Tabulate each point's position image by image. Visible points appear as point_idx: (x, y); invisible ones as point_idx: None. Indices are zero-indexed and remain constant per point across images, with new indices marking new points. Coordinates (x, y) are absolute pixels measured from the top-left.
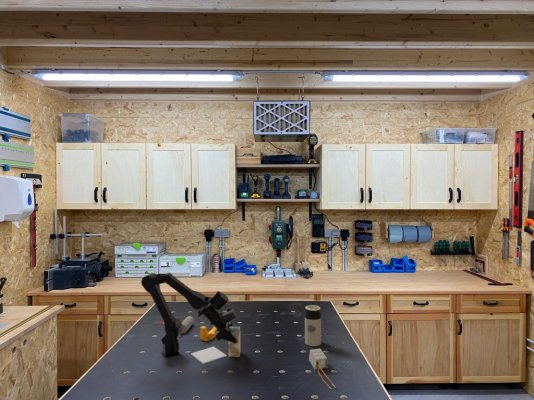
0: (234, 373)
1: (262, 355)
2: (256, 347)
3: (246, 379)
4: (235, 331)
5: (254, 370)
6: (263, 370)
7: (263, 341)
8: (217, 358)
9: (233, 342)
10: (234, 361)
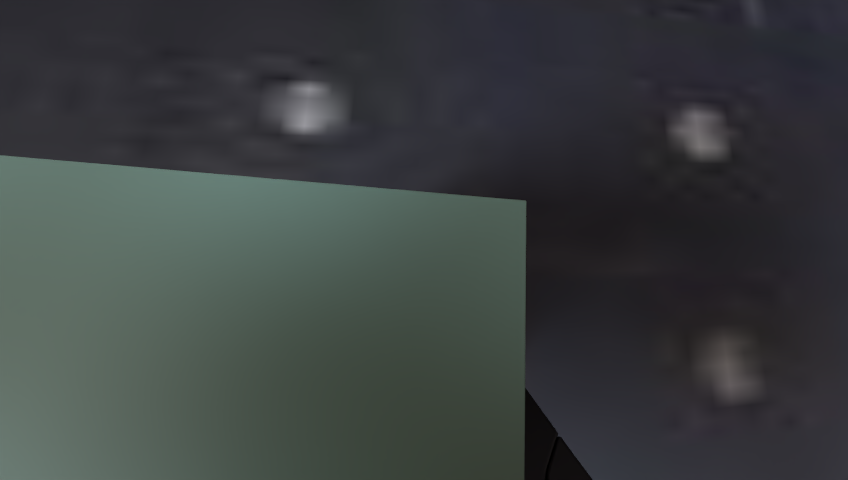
0: (764, 322)
1: (408, 68)
2: (215, 113)
3: (841, 213)
4: (509, 384)
5: (690, 147)
6: (682, 78)
7: (70, 37)
8: None
9: None
10: (531, 337)
